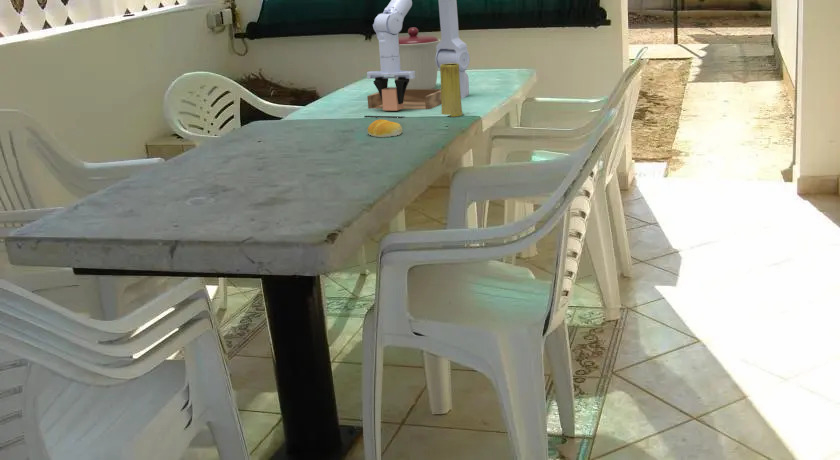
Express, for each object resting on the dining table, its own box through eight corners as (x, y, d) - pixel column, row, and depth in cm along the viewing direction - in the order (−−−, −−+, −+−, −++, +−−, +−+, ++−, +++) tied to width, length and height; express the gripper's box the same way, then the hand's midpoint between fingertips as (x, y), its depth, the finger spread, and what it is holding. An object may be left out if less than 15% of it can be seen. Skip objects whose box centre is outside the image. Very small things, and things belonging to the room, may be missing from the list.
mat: (379, 111, 263) (379, 110, 263) (416, 111, 258) (416, 110, 258) (364, 117, 255) (364, 116, 255) (401, 118, 250) (401, 117, 250)
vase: (463, 113, 252) (461, 62, 248) (462, 116, 246) (459, 65, 242) (441, 114, 253) (439, 63, 248) (440, 117, 247) (437, 66, 243)
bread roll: (384, 139, 222) (383, 124, 221) (363, 136, 229) (361, 120, 228) (409, 134, 227) (408, 118, 226) (387, 130, 234) (386, 115, 233)
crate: (388, 103, 278) (387, 88, 276) (447, 103, 269) (447, 89, 268) (368, 110, 265) (367, 95, 264) (429, 111, 257) (428, 96, 256)
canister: (381, 90, 305) (377, 28, 299) (429, 85, 312) (425, 24, 306) (403, 96, 289) (399, 30, 283) (452, 90, 297) (449, 26, 290)
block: (389, 107, 261) (388, 87, 259) (403, 107, 259) (402, 87, 257) (383, 110, 257) (381, 89, 255) (397, 110, 255) (395, 89, 253)
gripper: (360, 58, 253) (364, 105, 257) (406, 57, 247) (409, 106, 251) (371, 55, 259) (375, 101, 263) (417, 54, 253) (419, 102, 257)
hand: (392, 103), depth 257 cm, fingers closed on block, 4 cm apart
